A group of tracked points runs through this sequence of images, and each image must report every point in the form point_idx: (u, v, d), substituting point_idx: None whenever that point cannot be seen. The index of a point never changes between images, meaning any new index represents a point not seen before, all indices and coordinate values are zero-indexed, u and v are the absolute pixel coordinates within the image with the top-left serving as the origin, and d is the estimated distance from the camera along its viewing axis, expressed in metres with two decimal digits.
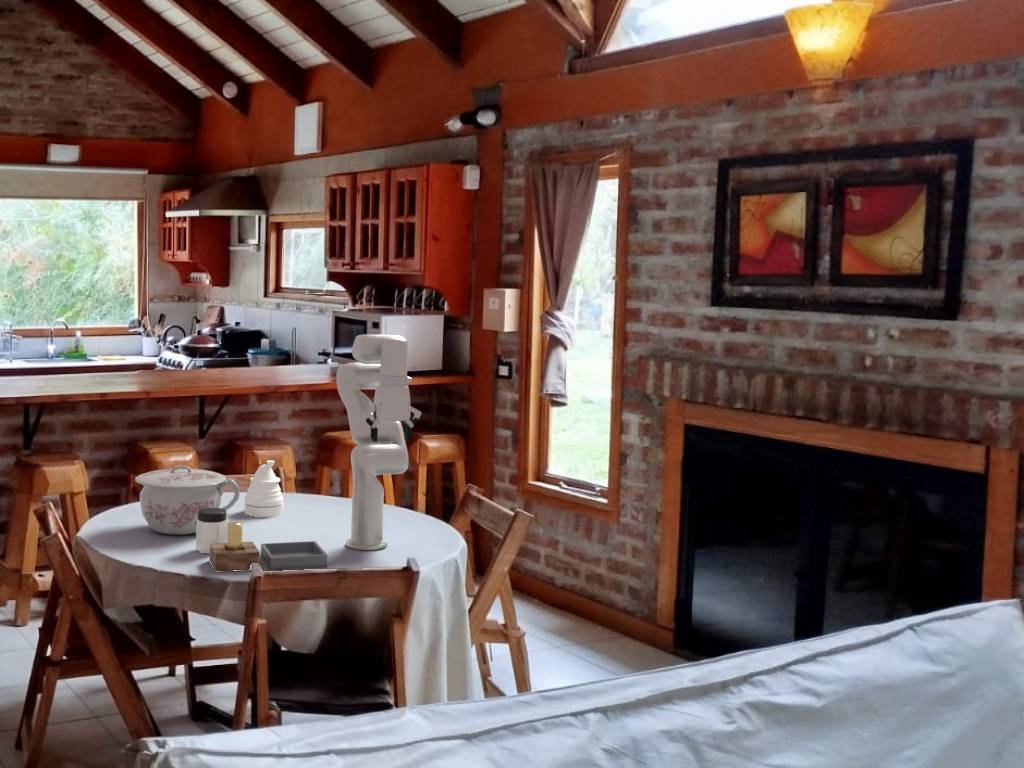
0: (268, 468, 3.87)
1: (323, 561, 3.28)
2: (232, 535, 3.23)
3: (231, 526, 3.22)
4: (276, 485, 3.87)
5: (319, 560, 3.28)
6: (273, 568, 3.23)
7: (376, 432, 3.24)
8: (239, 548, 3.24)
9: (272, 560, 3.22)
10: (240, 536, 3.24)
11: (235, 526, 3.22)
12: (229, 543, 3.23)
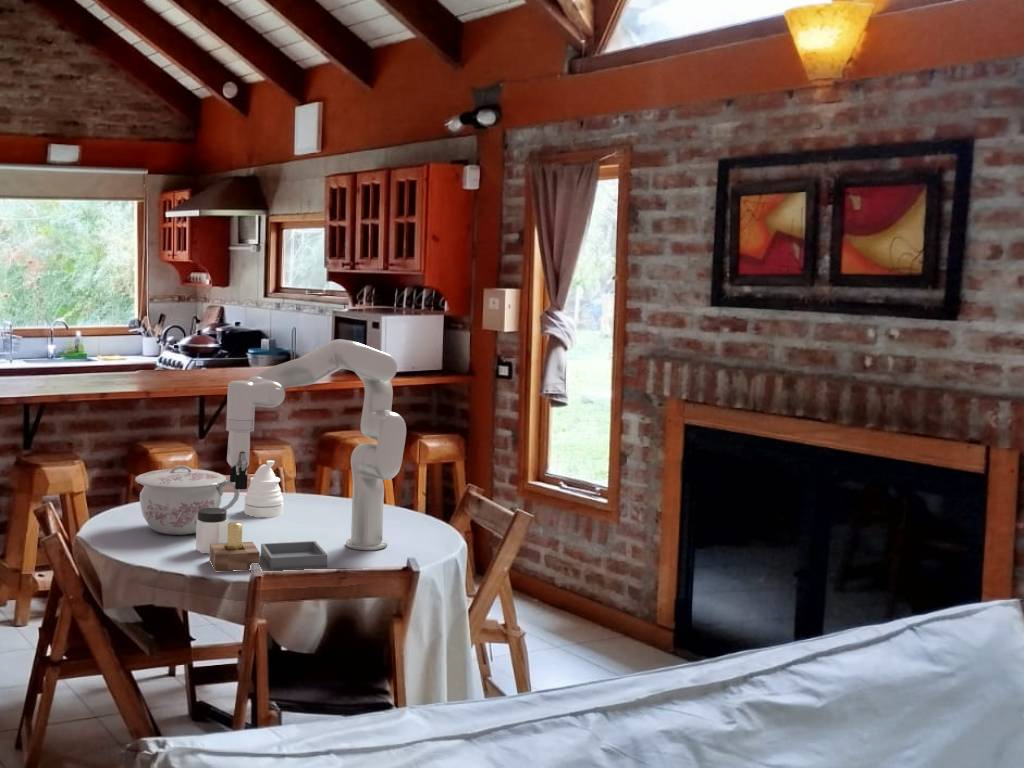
0: (268, 468, 3.87)
1: (323, 561, 3.28)
2: (232, 535, 3.23)
3: (231, 526, 3.22)
4: (276, 485, 3.87)
5: (319, 560, 3.28)
6: (273, 568, 3.23)
7: None
8: (239, 548, 3.24)
9: (272, 560, 3.22)
10: (240, 536, 3.24)
11: (235, 526, 3.22)
12: (229, 543, 3.23)
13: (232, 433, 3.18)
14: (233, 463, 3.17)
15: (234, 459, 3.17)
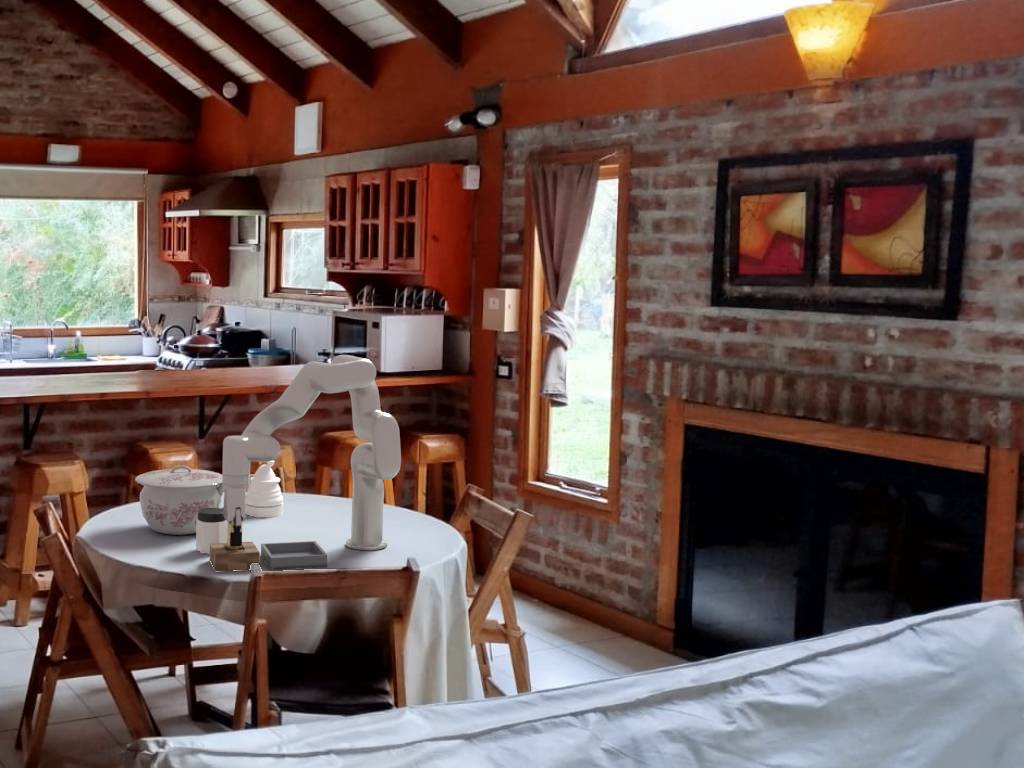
0: (268, 468, 3.87)
1: (323, 561, 3.28)
2: None
3: None
4: (276, 485, 3.87)
5: (319, 560, 3.28)
6: (273, 568, 3.23)
7: None
8: (239, 548, 3.24)
9: (272, 560, 3.22)
10: None
11: None
12: (229, 543, 3.23)
13: (228, 489, 3.20)
14: (229, 519, 3.19)
15: (230, 515, 3.19)
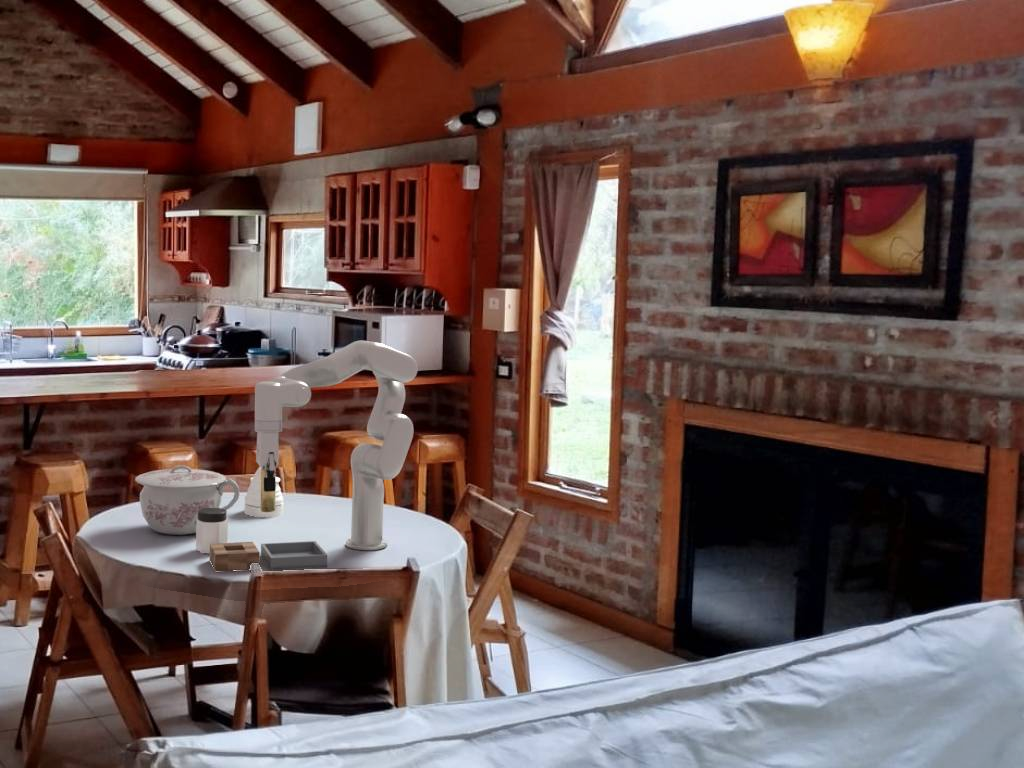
0: None
1: (323, 561, 3.28)
2: None
3: (264, 471, 3.25)
4: (276, 485, 3.87)
5: (319, 560, 3.28)
6: (273, 568, 3.23)
7: None
8: (272, 493, 3.26)
9: (272, 560, 3.22)
10: None
11: None
12: (263, 488, 3.26)
13: (261, 434, 3.22)
14: (263, 464, 3.21)
15: (263, 460, 3.21)
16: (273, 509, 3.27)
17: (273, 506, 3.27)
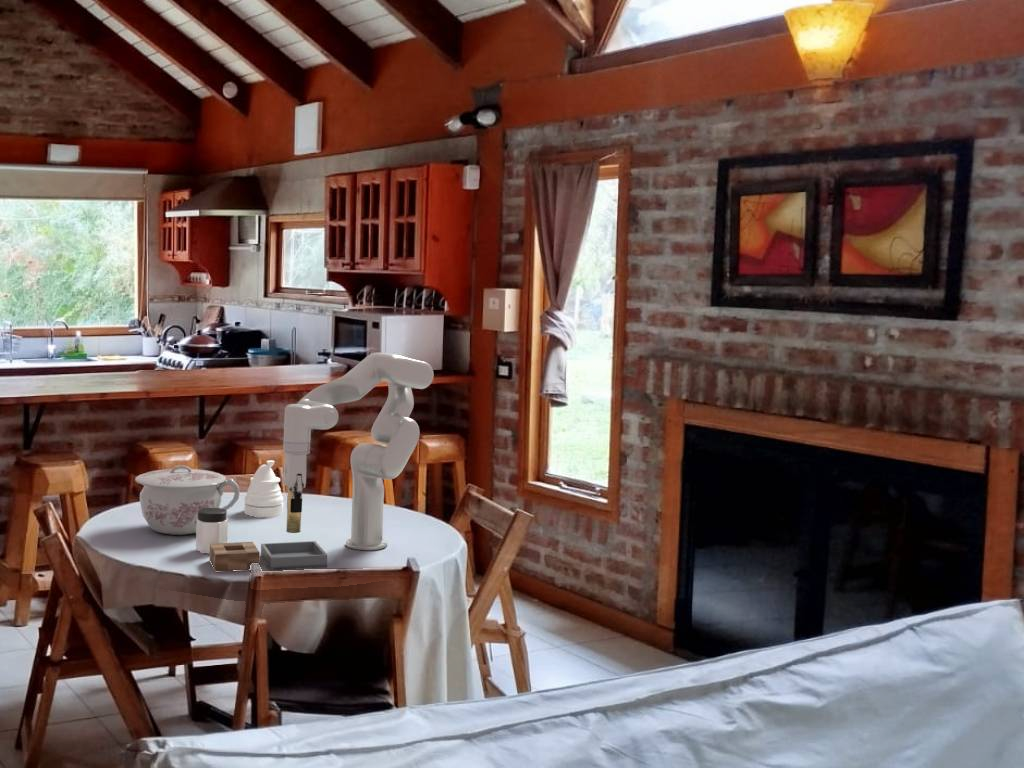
0: (268, 468, 3.87)
1: (323, 561, 3.28)
2: None
3: (291, 492, 3.29)
4: (276, 485, 3.87)
5: (319, 560, 3.28)
6: (273, 568, 3.23)
7: None
8: (299, 514, 3.30)
9: (272, 560, 3.22)
10: None
11: None
12: (289, 509, 3.29)
13: (289, 455, 3.26)
14: (290, 485, 3.25)
15: (291, 481, 3.25)
16: (299, 530, 3.31)
17: (298, 527, 3.31)
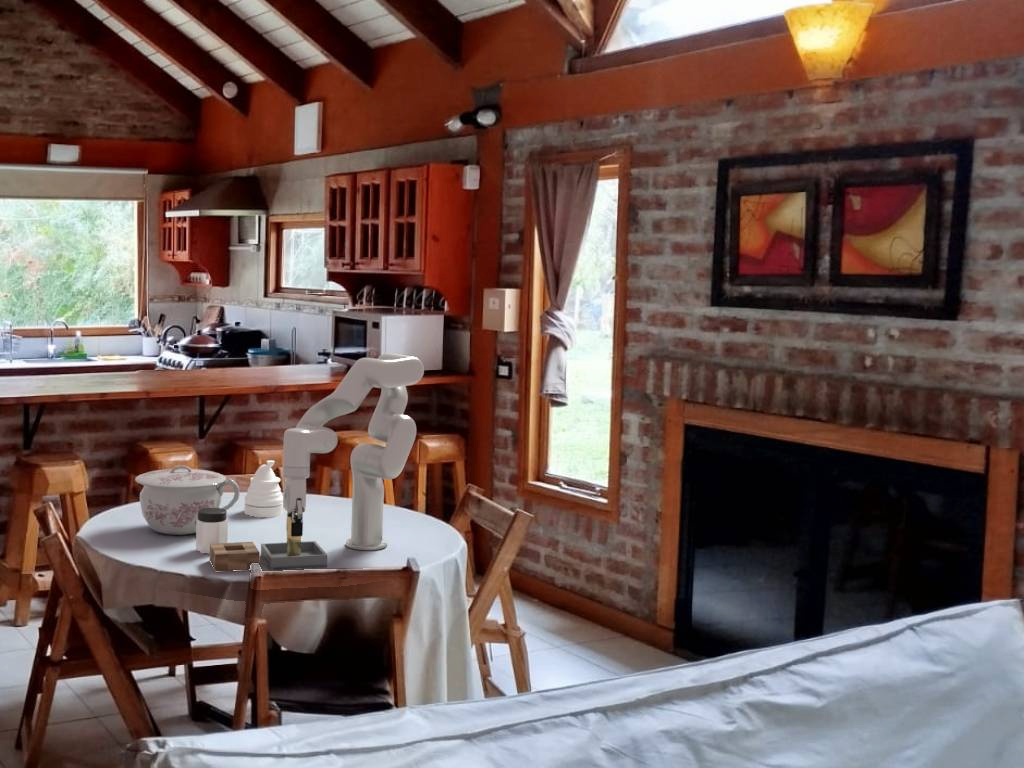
0: (268, 468, 3.87)
1: (323, 561, 3.28)
2: None
3: (290, 520, 3.30)
4: (276, 485, 3.87)
5: (319, 560, 3.28)
6: (273, 568, 3.23)
7: None
8: (298, 541, 3.31)
9: (272, 560, 3.22)
10: None
11: None
12: (289, 536, 3.30)
13: (289, 480, 3.27)
14: (290, 509, 3.26)
15: (291, 505, 3.26)
16: None
17: (299, 553, 3.32)
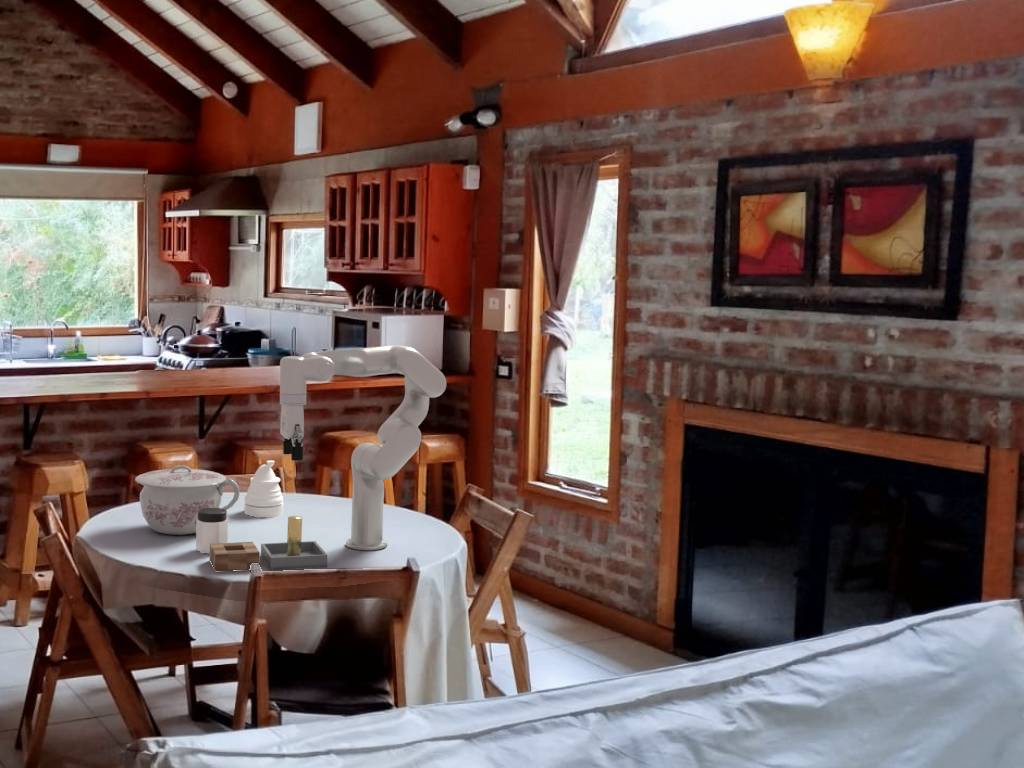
0: (268, 468, 3.87)
1: (323, 561, 3.28)
2: (292, 529, 3.30)
3: (291, 520, 3.30)
4: (276, 485, 3.87)
5: (319, 560, 3.28)
6: (273, 568, 3.23)
7: None
8: (299, 541, 3.31)
9: (272, 560, 3.22)
10: (300, 530, 3.31)
11: (295, 520, 3.30)
12: (289, 536, 3.31)
13: (286, 407, 3.31)
14: (289, 435, 3.31)
15: (290, 432, 3.31)
16: None
17: (299, 554, 3.32)
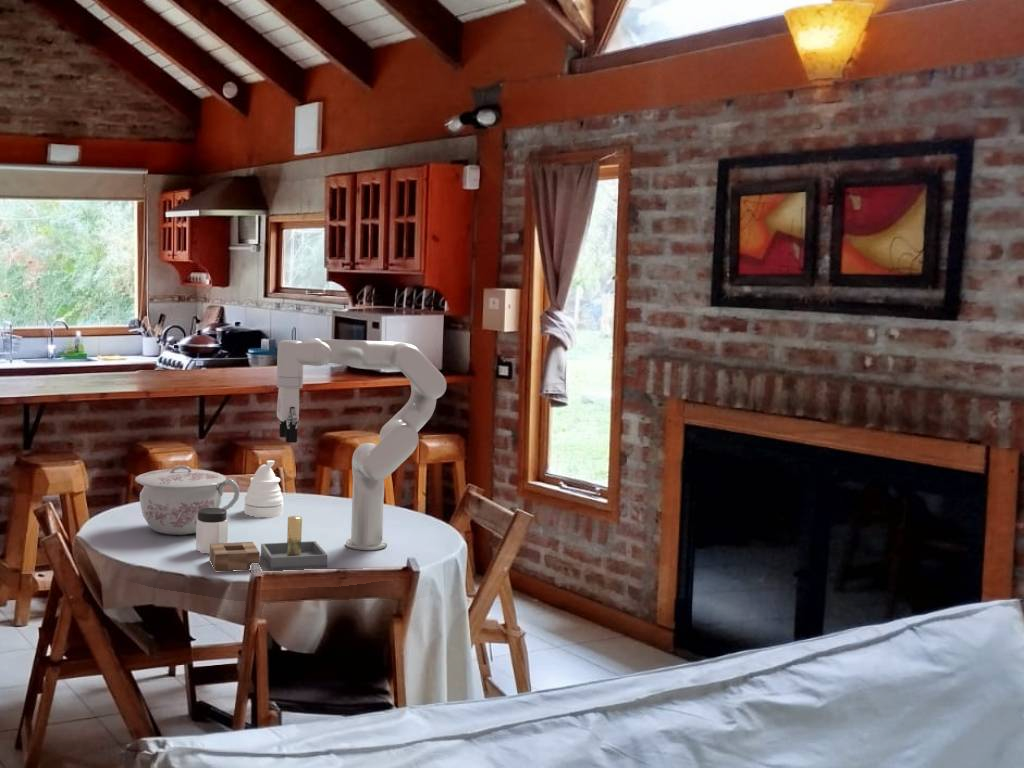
0: (268, 468, 3.87)
1: (323, 561, 3.28)
2: (292, 529, 3.30)
3: (291, 520, 3.30)
4: (276, 485, 3.87)
5: (319, 560, 3.28)
6: (273, 568, 3.23)
7: None
8: (299, 541, 3.31)
9: (272, 560, 3.22)
10: (300, 530, 3.31)
11: (295, 520, 3.30)
12: (289, 536, 3.30)
13: (282, 389, 3.36)
14: (284, 418, 3.35)
15: (285, 414, 3.35)
16: None
17: (299, 554, 3.32)
